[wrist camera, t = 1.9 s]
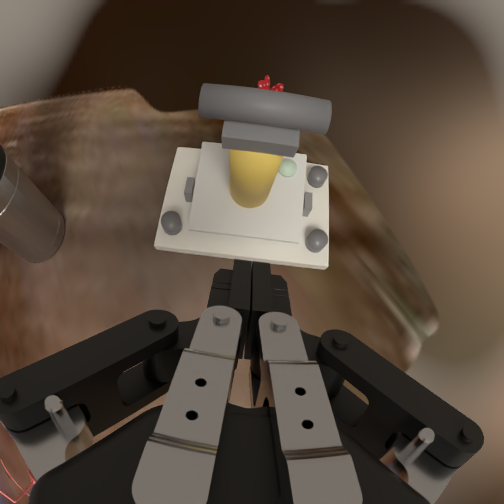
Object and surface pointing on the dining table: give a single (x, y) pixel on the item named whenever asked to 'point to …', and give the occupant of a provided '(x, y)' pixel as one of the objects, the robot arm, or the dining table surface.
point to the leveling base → (301, 255)
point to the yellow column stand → (254, 162)
